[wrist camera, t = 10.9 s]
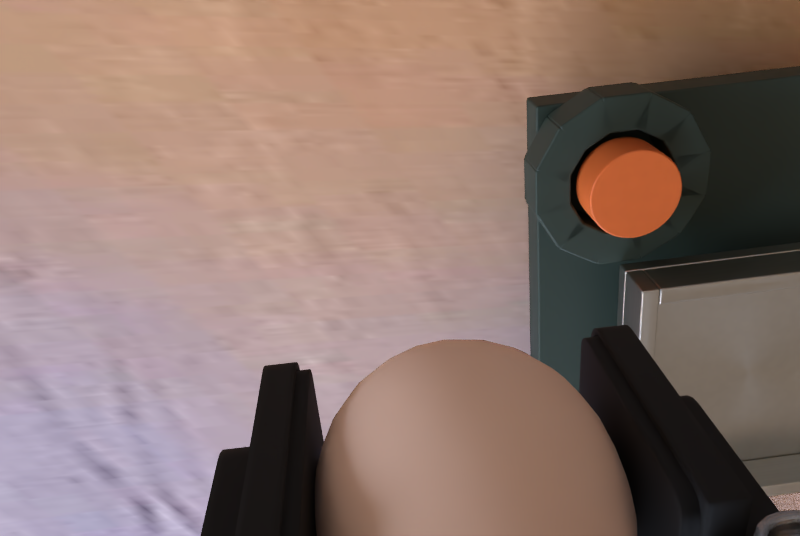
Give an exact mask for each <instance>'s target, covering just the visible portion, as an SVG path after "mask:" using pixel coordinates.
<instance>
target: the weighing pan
mask: <svg viewBox="0 0 800 536" xmlns="http://www.w3.org/2000/svg"><path fill="white" fill-rule="evenodd" d="M619 325H628V326H629V327H630V328H631V329H632V330H633V331H634V333H635V334H636V336H637V337H638V338H639V340H640V341H641V343H642V344H643V345H644V347H645V348H646V350H647V351H648V352H649V354H650V355H651V357H652V358H653V359H654V361H655V362H656V364H657V365H658V366H659V368H660V369H661V370H662V372H663V373H664V375H665V376H666V377H667V379H668V380H669V382H670V383H671V384H672V386H673V387H674V389H675V390H676V391H677V393H678V394H679V396H685V395H688V396H691V397H693V398H694V399H695V400H696V401H697V402H698V403H699V405H700V406H701V407H702V409H703V410H704V411H705V413H706V414H707V415H708V417H709V418H710V419H711V421H712V422H713V423H714V425H715V426H716V427H717V429H718V430H719V431H720V433H721V434H722V435H723V437H724V438H725V439H726V441H727V442H728V443H729V445H730V446H731V447H732V449H733V450H734V451H735V453H736V454H737V455H738V457H739V458H740V459H741V461H742V462H743V463H744V465H745V466H746V468H747V469H748V470H749V472H750V473H751V474H752V476H753V477H754V478H755V480H756V481H757V482H758V484H759V485H760V486H761V488H762V489H763V490H764V492H765V493H766V494H767V496H768V497H770V496H777V495H785V494H792V493H800V242H798V243H790V244H782V245H774V246H766V247H758V248H750V249H741V250H733V251H725V252H717V253H709V254H701V255H693V256H685V257H677V258H669V259H660V260H652V261H644V262H636V263H628V264H621V265H620V272H619V293H618V313H617V326H619Z"/></svg>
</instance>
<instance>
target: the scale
mask: <svg viewBox="0 0 800 536" xmlns="http://www.w3.org/2000/svg"><path fill="white" fill-rule="evenodd" d="M619 137H635V138H639V139H642V140H644V141H646V142H648V143H649V144H651V145H652V146H654V147H655V148H657V149H658V150H659V151H661V152H662V153H664V154H665V155H667V156H668V157H669V158H670V159H671V160H672V161H673V162H674V163H675V164H676V166H677V167H678V169H679V172H680V175H681V179H682V193H681V197H680V201H679V203H678V206H677V208H676V209H675V211H674V213H673V214H672V215H671V217H670V218H669V219H668V220H667V221H666V222H665V223H664V224H663V225H662V226H660V227H659V228H658V229H656V230H654V231H653V232H651V233H648V234H646V235H643V236H640V237H634V238H621V237H616V236H613V235H611V234H609V233H607V232H605V231H604V230H602V229H601V228H600V227H599V226H598V225H597V224H596V222H595V221H594V220H593V219H592V218H591V217H590V216H589V214H588V213H587V212H586V211H585V210H584V209H583V207H582V206H581V204H580V202H579V200H578V197H577V193H576V179H577V175H578V172H579V169H580V167H581V165H582V163H583V161H584V160H585V158H586V157H587V156H588V155H589V154H590V153H591V152H592V151H593V150H594V149H595V148H596V147H598V146H599V145H601V144H602V143H604V142H606V141H608V140H611V139H614V138H619ZM524 173H525V199H526V202H527V204H528V217H529V280H530V344H531V357H533V358H535V359H537V360H539V361H540V362H542V363H544V364H546V365H547V366H549V367H551V368H552V369H554V370H555V371H556V372H558V373H559V374H560V375H562V376H563V377H564V378H565V379H566V380H567V381H568V382H569V383H570V384H571V385H572V386H573V387H574V388H575V389H576V390H577V391H578V392H579V382H580V358H581V342H582V339H583V338H588V337H591V333H592V331H593V329H594V328H601V327H610V326H617V313H618V293H619V272H620V265H621V264H628V263H636V262H644V261H652V260H660V259H669V258H677V257H685V256H693V255H701V254H709V253H717V252H725V251H733V250H741V249H750V248H758V247H766V246H774V245H782V244H790V243H798V242H800V66H796V67H787V68H779V69H770V70H761V71H753V72H744V73H736V74H727V75H718V76H710V77H701V78H693V79H684V80H675V81H667V82H658V83H650V84H641V85H638V84H636V83H632V82H630V83H622V84H613V85H605V86H596V87H589V88H587V89H584V90H583V91H581V92H572V93H564V94H555V95H547V96H538V97H529V98H527V153H526V155H525V158H524Z"/></svg>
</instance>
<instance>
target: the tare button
mask: <svg viewBox="0 0 800 536" xmlns="http://www.w3.org/2000/svg"><path fill="white" fill-rule="evenodd" d="M576 193H577V197H578V200H579V202H580V204H581V206H582V207H583V209H584V210H585V211H586V212H587V213H588V214H589V216H590V217H591V218H592V219H593V220H594V221H595V222H596V224H597V225H598V226H599V227H600V228H601V229H602V230H604V231H605V232H607V233H609V234H611V235H613V236H616V237H621V238H634V237H640V236H643V235H646V234H648V233H651V232H653V231H654V230H656V229H658V228H659V227H660V226H662V225H663V224H664V223H665V222H666V221H667V220H668V219H669V218H670V217H671V215H672V214H673V213H674V211H675V209H676V208H677V206H678V203H679V201H680V197H681V193H682V179H681V175H680V172H679V169H678V167H677V166H676V164H675V163H674V162H673V161H672V160H671V159H670V158H669V157H668V156H667V155H665V154H664V153H662V152H661V151H659V150H658V149H657V148H655V147H654V146H652V145H651V144H649V143H648V142H646V141H644V140H642V139H639V138H635V137H619V138H614V139H611V140H608V141H606V142H604V143H602V144H601V145H599V146H598V147H596V148H595V149H594V150H593V151H592V152H591V153H590V154H589V155H588V156H587V157H586V158H585V160H584V161H583V163H582V165H581V167H580V169H579V172H578V175H577V179H576Z"/></svg>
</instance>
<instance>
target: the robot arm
mask: <svg viewBox="0 0 800 536" xmlns="http://www.w3.org/2000/svg"><path fill="white" fill-rule="evenodd" d="M579 393H580V394H581V395H582V397H583V398H584V399H585V400H586V402H587V403H588V404H589V405H590V406H591V408H592V409H593V410H594V411H595V413H596V414H597V415H598V416H599V418H600V420H601V422H602V423H603V425H604V427H605V429H606V431H607V433H608V435H609V436H610V438H611V440H612V442H613V444H614V446H615V448H616V450H617V453H618V455H619V458H620V461H621V463H622V466H623V468H624V471H625V473H626V476H627V479H628V483H629V486H630V489H631V494H632V498H633V503H634V507H635V512H636V519H637V536H800V510H790V511H779V510H778V509H777V508H776V506H775V505H774V504H773V502H772V501H771V500H770V498H769V497H768V496H767V494H766V493H765V492H764V490H763V489H762V488H761V486H760V485H759V484H758V482H757V481H756V480H755V478H754V477H753V476H752V474H751V473H750V472H749V470H748V469H747V468H746V466H745V465H744V463H743V462H742V461H741V459H740V458H739V457H738V455H737V454H736V453H735V451H734V450H733V449H732V447H731V446H730V445H729V443H728V442H727V441H726V439H725V438H724V437H723V435H722V434H721V433H720V431H719V430H718V429H717V427H716V426H715V425H714V423H713V422H712V421H711V419H710V418H709V417H708V415H707V414H706V413H705V411H704V410H703V409H702V407H701V406H700V405H699V403H698V402H697V401H696V400H695V399H694V398H693V397H691V396H688V395H685V396H679V394H678V393H677V391H676V390H675V389H674V387H673V386H672V384H671V383H670V382H669V380H668V379H667V377H666V376H665V375H664V373H663V372H662V370H661V369H660V368H659V366H658V365H657V364H656V362H655V361H654V359H653V358H652V357H651V355H650V354H649V352H648V351H647V350H646V348H645V347H644V345H643V344H642V343H641V341H640V340H639V338H638V337H637V336H636V334H635V333H634V331H633V330H632V329H631V328H630V327H629V326H628V325H619V326H610V327H601V328H594V329H593V331H592V333H591V337H588V338H583V339H582V342H581V358H580V382H579ZM323 443H324V441H323V435H322V429H321V423H320V418H319V412H318V406H317V400H316V394H315V388H314V383H313V377H312V372H311V370H310V369H309V370H300V369H299V365H298V363H297V362H294V363H285V364H277V365H268V366H264V368H263V373H262V379H261V384H260V390H259V396H258V402H257V408H256V414H255V420H254V426H253V431H252V437H251V443H250V447H243V448H235V449H226V450H222V452H221V453H220V455H219V458H218V461H217V466H216V470H215V475H214V479H213V484H212V488H211V492H210V497H209V501H208V506H207V510H206V515H205V519H204V523H203V528H202V532H201V536H317V533H316V523H315V477H316V468H317V464H318V461H319V457H320V453H321V449H322V446H323Z"/></svg>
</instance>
